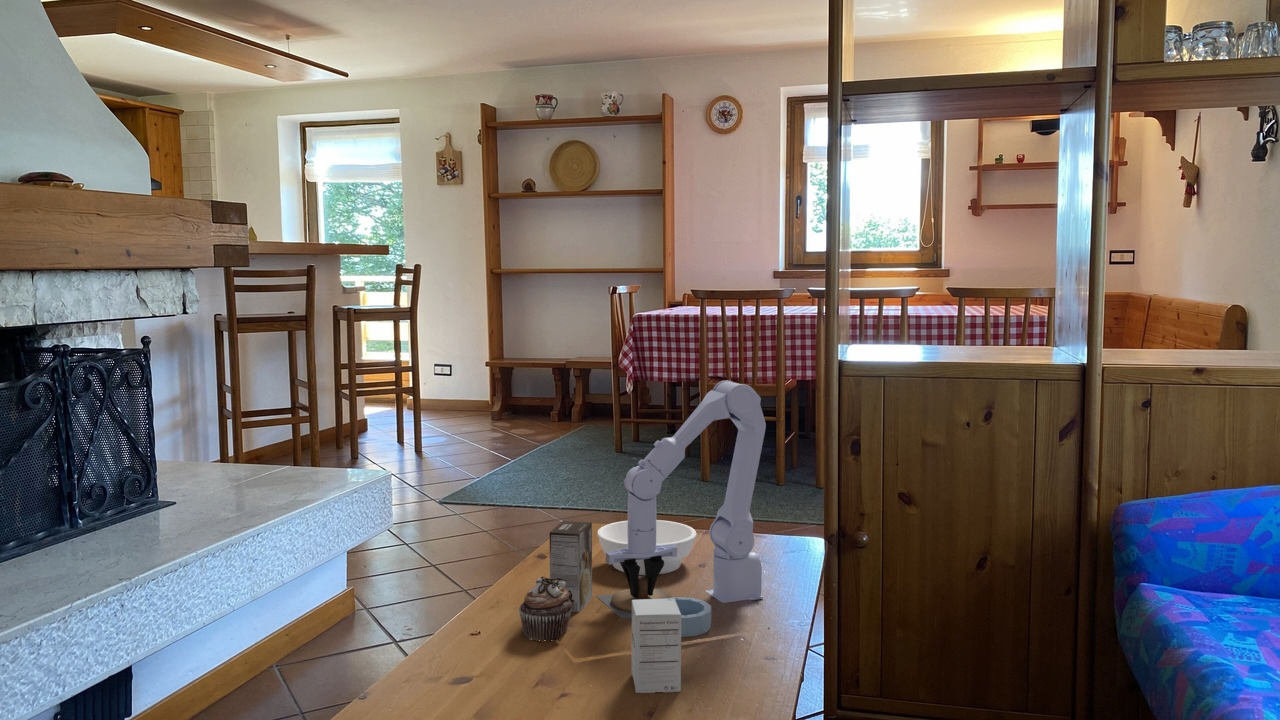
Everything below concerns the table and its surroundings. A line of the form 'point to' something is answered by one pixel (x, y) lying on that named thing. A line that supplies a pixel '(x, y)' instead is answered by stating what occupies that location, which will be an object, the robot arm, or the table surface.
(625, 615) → the mat
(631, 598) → the lid
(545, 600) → the cupcake
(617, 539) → the bowl
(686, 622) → the small bowl
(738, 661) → the table surface
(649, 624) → the supplement box
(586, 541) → the coffee box
